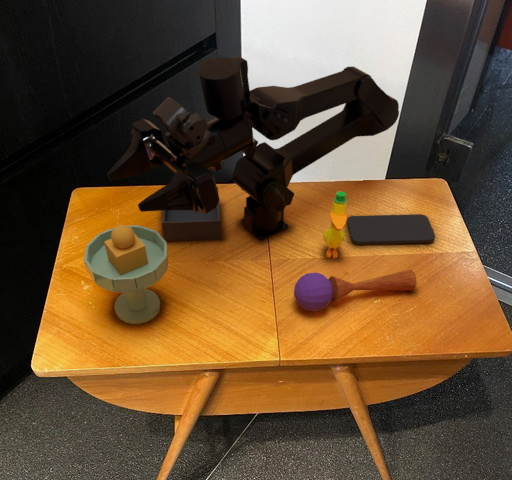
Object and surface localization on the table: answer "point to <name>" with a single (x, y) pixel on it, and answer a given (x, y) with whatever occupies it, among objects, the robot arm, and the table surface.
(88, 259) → the footed bowl
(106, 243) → the orange block
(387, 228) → the phone
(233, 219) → the table surface
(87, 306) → the table surface
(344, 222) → the toy figure
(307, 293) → the kendama
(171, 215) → the bin
